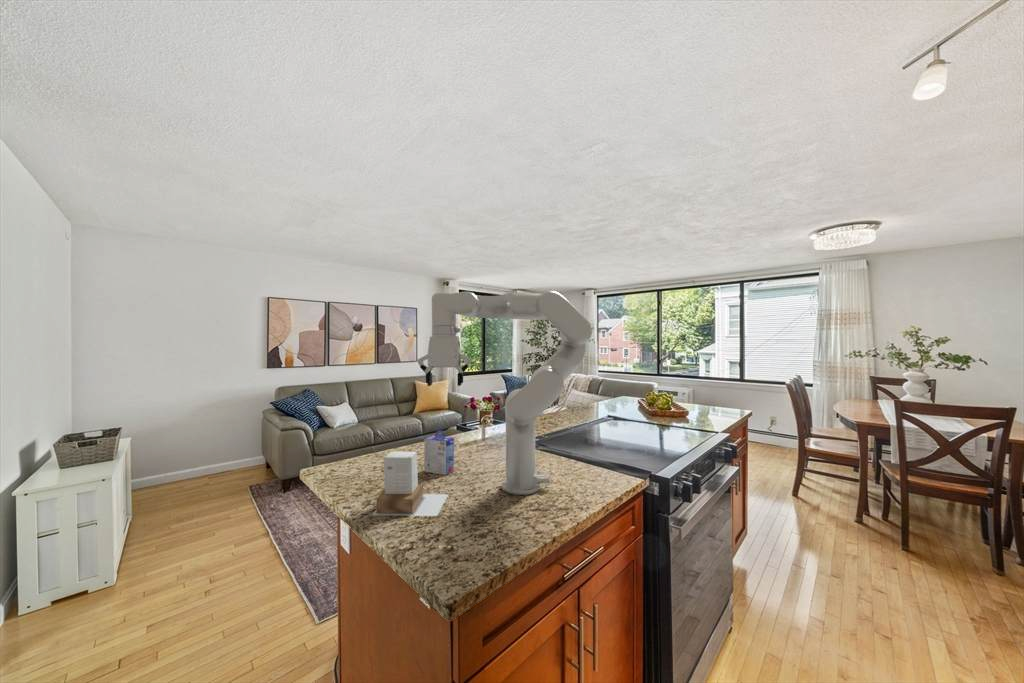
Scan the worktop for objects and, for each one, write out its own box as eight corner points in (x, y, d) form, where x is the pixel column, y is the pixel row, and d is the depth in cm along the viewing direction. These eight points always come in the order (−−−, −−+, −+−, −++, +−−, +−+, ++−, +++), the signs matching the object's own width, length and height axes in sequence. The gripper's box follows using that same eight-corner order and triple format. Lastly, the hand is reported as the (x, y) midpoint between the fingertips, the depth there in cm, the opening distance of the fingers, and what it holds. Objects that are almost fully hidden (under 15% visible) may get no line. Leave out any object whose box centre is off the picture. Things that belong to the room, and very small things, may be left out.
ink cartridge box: (455, 470, 136) (454, 431, 136) (446, 475, 131) (446, 434, 131) (432, 467, 140) (432, 428, 140) (423, 471, 135) (423, 432, 135)
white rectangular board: (448, 495, 114) (448, 494, 114) (436, 517, 100) (436, 515, 100) (390, 494, 115) (390, 493, 115) (371, 516, 101) (371, 514, 101)
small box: (418, 486, 110) (417, 451, 110) (412, 494, 104) (411, 457, 104) (391, 486, 110) (391, 451, 110) (384, 494, 104) (383, 457, 104)
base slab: (423, 498, 111) (423, 484, 111) (412, 513, 101) (412, 498, 101) (390, 497, 112) (390, 484, 112) (376, 513, 102) (376, 498, 102)
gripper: (472, 331, 122) (473, 383, 122) (420, 332, 123) (421, 384, 123) (469, 331, 115) (469, 386, 115) (413, 332, 115) (414, 387, 115)
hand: (444, 385), depth 119 cm, fingers open, 9 cm apart
